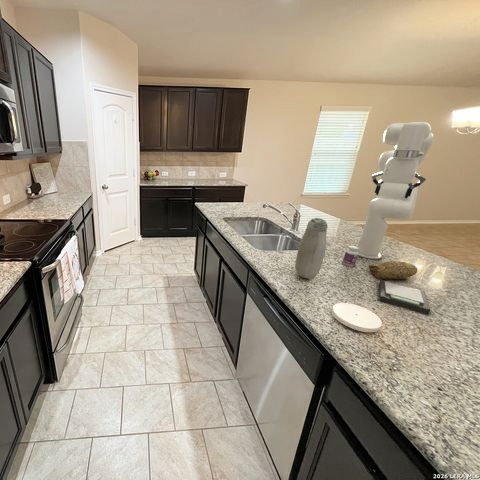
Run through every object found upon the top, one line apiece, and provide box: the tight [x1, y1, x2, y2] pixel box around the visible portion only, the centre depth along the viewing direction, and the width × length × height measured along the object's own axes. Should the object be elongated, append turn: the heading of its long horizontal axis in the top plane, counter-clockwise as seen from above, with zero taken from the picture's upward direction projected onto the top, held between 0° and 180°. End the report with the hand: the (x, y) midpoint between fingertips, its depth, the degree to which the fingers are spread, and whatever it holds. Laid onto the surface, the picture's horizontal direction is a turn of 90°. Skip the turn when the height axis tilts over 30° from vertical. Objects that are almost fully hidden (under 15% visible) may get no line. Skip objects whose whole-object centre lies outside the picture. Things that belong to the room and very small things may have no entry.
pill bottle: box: [342, 245, 359, 267], centre depth 128 cm, size 5×5×10 cm
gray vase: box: [294, 217, 328, 279], centre depth 113 cm, size 10×10×28 cm
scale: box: [378, 279, 431, 316], centre depth 101 cm, size 16×14×3 cm
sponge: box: [368, 260, 418, 280], centre depth 118 cm, size 13×8×20 cm
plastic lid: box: [331, 302, 383, 333], centre depth 88 cm, size 14×14×2 cm
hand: (390, 196), depth 110 cm, fingers open, 9 cm apart
